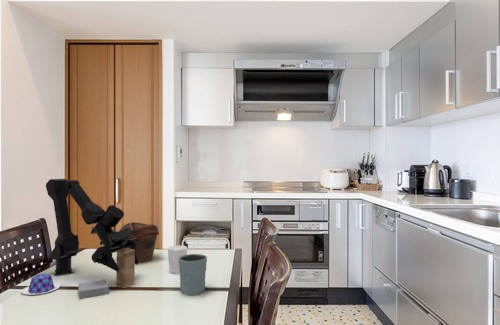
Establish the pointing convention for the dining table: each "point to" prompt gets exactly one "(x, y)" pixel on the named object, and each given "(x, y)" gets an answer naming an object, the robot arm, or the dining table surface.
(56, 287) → the purple patterned hat
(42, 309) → the dining table surface
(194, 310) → the dining table surface
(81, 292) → the base brick
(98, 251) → the robot arm
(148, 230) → the brown basket
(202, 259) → the green cup
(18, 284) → the dining table surface
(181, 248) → the white cup
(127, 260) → the column
